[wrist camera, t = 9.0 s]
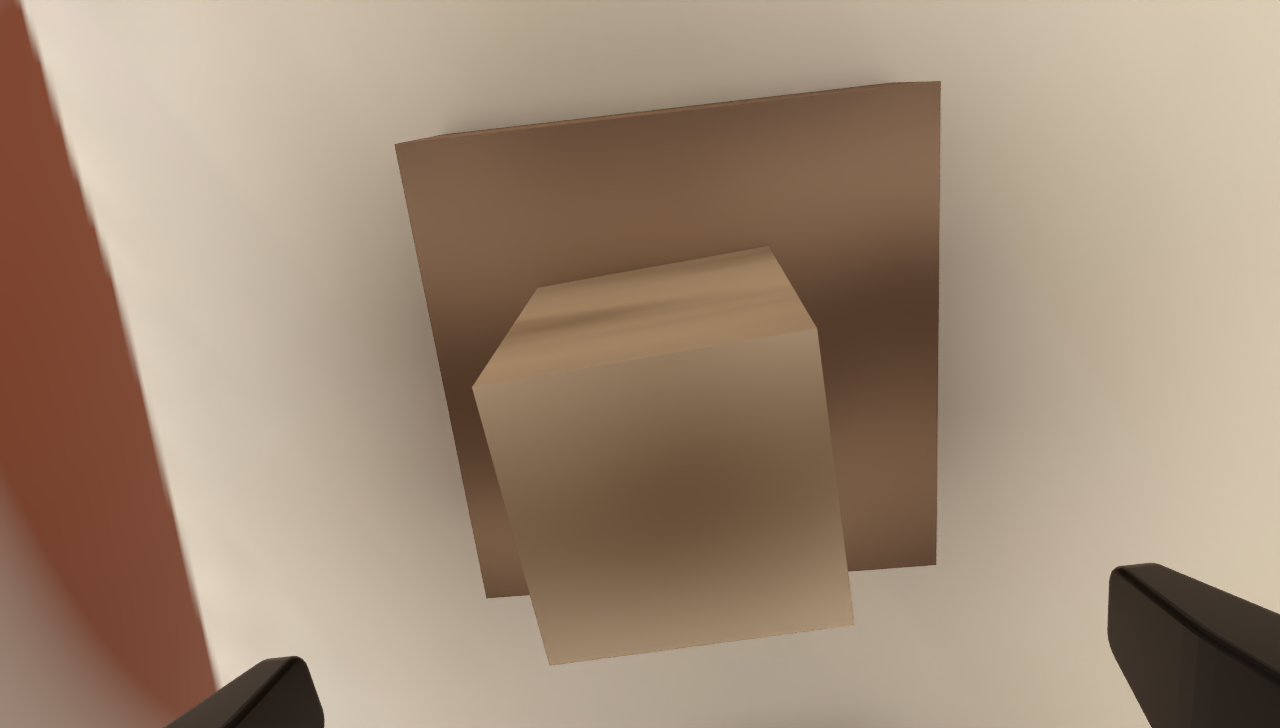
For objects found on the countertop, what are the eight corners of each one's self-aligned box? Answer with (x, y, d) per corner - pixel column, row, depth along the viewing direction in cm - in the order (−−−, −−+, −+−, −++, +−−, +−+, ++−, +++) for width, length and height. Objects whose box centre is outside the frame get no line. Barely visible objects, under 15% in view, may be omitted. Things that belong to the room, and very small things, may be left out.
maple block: (798, 457, 18) (854, 624, 13) (586, 491, 19) (549, 665, 13) (768, 245, 17) (816, 328, 11) (537, 287, 17) (472, 387, 12)
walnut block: (892, 486, 23) (936, 565, 19) (515, 517, 24) (486, 598, 20) (888, 82, 19) (940, 81, 16) (446, 134, 20) (394, 144, 16)
